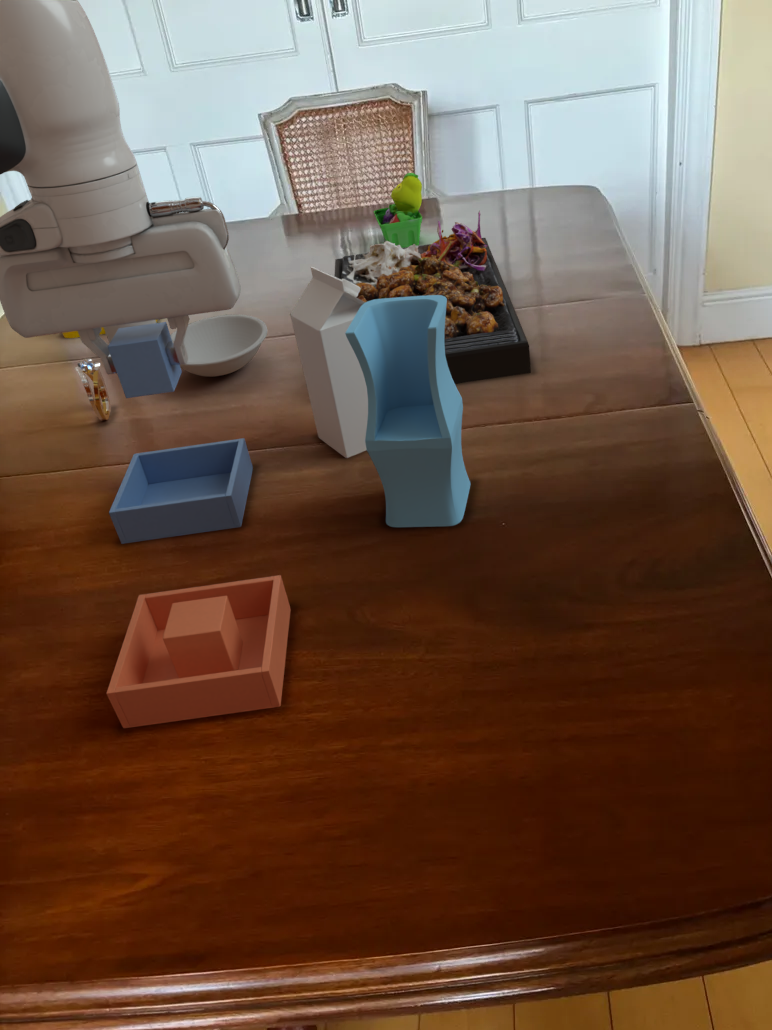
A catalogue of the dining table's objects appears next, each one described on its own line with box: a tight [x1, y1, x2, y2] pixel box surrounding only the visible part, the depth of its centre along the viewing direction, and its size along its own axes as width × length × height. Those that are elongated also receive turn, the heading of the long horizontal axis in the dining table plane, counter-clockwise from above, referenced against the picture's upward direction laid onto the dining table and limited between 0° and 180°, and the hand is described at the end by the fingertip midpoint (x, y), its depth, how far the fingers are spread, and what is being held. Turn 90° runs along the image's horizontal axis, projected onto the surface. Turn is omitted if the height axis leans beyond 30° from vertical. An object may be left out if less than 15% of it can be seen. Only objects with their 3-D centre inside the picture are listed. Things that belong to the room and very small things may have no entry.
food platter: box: [333, 210, 532, 385], centre depth 126 cm, size 45×25×10 cm, turn 5°
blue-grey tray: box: [108, 437, 254, 545], centre depth 94 cm, size 12×12×4 cm
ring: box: [74, 357, 112, 422], centre depth 113 cm, size 7×3×8 cm, turn 9°
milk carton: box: [289, 266, 368, 459], centre depth 97 cm, size 7×7×19 cm
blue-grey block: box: [108, 321, 183, 399], centre depth 83 cm, size 4×4×5 cm
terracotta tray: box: [106, 574, 292, 729], centre depth 72 cm, size 12×12×4 cm
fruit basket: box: [373, 172, 423, 248], centre depth 159 cm, size 11×9×11 cm
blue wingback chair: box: [345, 295, 471, 528], centre depth 83 cm, size 8×8×20 cm
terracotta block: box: [163, 596, 243, 678], centre depth 72 cm, size 4×4×5 cm
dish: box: [170, 313, 268, 378], centre depth 122 cm, size 18×14×5 cm
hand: (148, 367), depth 83 cm, fingers closed on blue-grey block, 4 cm apart
